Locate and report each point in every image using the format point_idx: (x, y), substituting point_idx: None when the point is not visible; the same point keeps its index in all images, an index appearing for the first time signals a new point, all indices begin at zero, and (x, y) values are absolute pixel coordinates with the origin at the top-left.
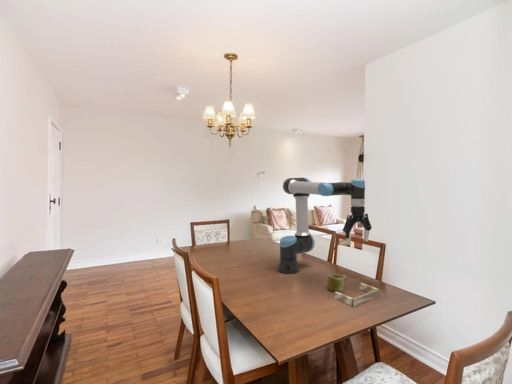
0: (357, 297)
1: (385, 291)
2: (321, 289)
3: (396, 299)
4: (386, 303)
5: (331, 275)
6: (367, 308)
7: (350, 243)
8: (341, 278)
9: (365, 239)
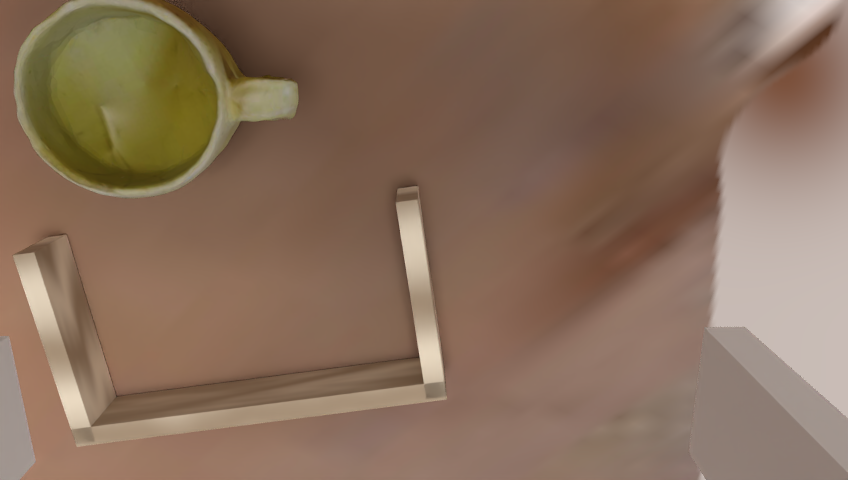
0: (139, 427)
1: (564, 330)
2: (36, 15)
3: (503, 464)
4: (376, 475)
5: (115, 9)
6: (185, 470)
7: (9, 476)
8: (131, 196)
9: (720, 421)
